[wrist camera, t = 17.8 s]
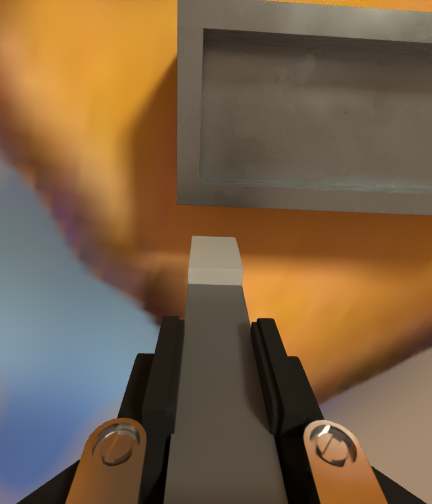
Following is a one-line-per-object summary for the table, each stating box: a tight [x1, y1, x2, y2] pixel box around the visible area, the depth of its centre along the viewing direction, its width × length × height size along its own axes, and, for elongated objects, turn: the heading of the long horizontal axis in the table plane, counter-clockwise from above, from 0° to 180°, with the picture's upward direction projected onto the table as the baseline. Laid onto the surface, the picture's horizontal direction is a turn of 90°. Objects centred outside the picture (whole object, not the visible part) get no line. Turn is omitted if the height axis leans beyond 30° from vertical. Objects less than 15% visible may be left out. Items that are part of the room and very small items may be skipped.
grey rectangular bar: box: [164, 236, 288, 504], centre depth 11 cm, size 2×4×16 cm, turn 177°
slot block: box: [177, 0, 432, 215], centre depth 16 cm, size 18×8×6 cm, turn 87°
